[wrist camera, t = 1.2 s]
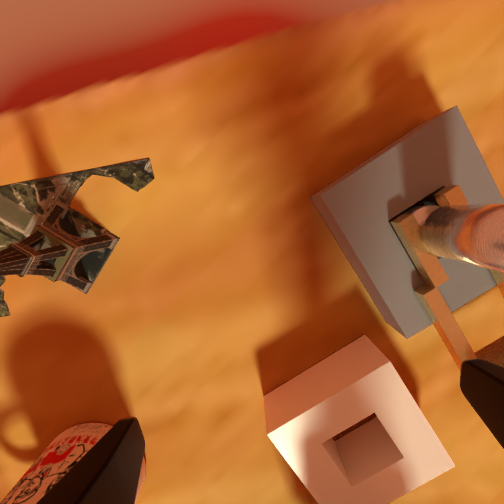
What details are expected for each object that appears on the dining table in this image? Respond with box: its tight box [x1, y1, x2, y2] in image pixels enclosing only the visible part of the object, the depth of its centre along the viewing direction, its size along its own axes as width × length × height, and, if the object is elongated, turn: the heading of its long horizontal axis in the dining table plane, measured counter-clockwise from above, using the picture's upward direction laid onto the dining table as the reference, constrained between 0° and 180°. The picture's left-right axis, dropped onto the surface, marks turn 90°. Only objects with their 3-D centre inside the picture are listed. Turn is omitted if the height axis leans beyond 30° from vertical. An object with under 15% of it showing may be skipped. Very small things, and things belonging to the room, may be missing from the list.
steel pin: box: [388, 204, 504, 272], centre depth 16 cm, size 3×3×10 cm
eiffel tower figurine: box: [0, 158, 154, 317], centre depth 15 cm, size 15×10×13 cm
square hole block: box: [263, 335, 455, 504], centre depth 21 cm, size 10×10×4 cm
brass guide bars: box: [390, 185, 504, 371], centre depth 17 cm, size 14×6×3 cm, turn 33°
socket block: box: [310, 105, 504, 339], centre depth 20 cm, size 12×10×3 cm
